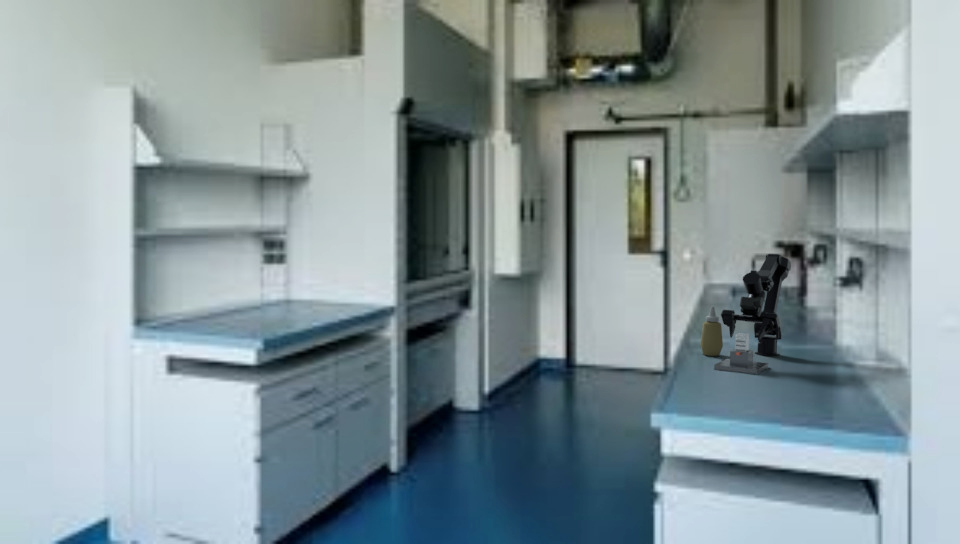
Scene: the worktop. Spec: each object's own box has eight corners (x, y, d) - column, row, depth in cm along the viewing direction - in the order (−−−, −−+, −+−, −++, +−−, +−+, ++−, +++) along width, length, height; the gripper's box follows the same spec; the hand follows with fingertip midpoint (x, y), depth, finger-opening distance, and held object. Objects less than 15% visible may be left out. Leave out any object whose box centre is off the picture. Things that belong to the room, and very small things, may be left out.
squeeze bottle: (725, 357, 276) (726, 308, 275) (703, 356, 276) (704, 308, 275) (718, 353, 284) (720, 305, 283) (697, 352, 284) (698, 305, 283)
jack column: (737, 362, 257) (738, 332, 257) (748, 363, 255) (749, 333, 255) (734, 363, 254) (735, 334, 254) (745, 364, 252) (746, 335, 252)
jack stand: (726, 362, 265) (727, 346, 264) (768, 367, 257) (768, 350, 256) (714, 369, 253) (714, 351, 253) (756, 374, 245) (757, 356, 245)
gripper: (723, 286, 265) (712, 320, 257) (778, 289, 254) (769, 325, 246) (729, 307, 272) (718, 341, 264) (783, 311, 261) (774, 346, 253)
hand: (744, 338), depth 256 cm, fingers open, 9 cm apart
